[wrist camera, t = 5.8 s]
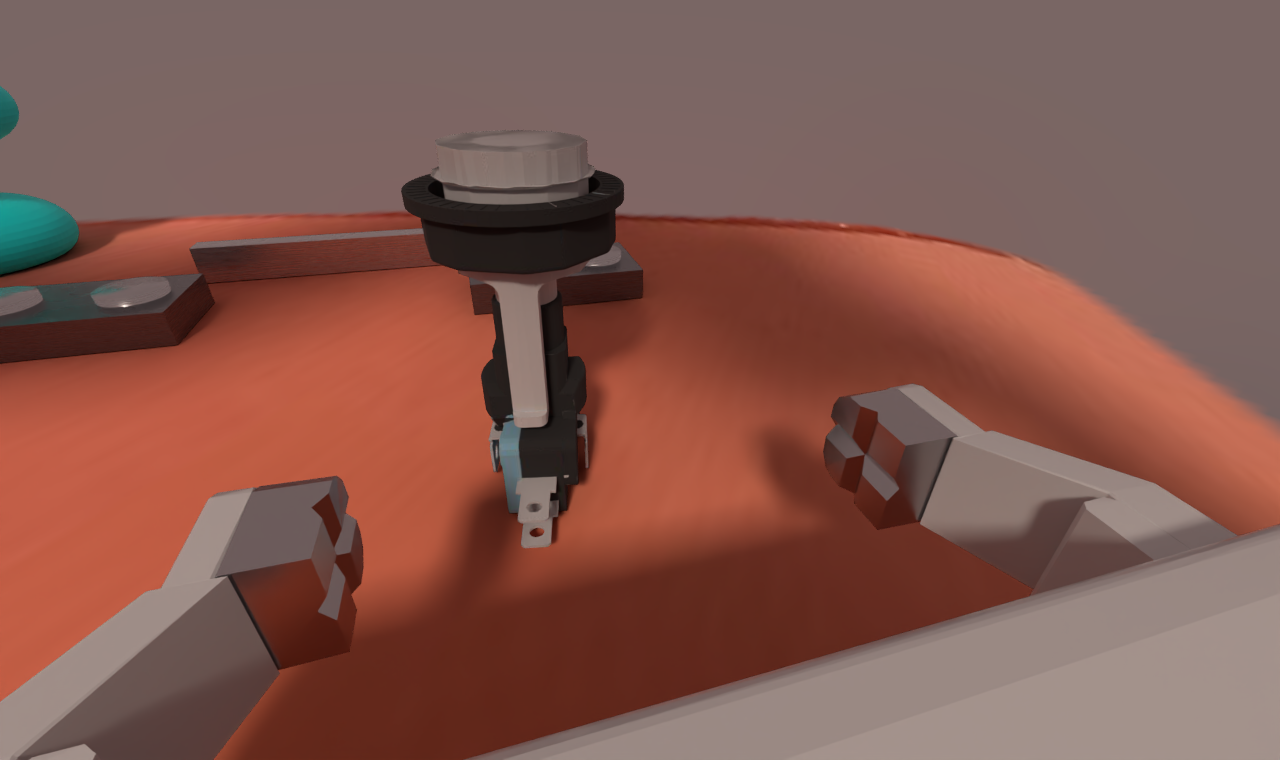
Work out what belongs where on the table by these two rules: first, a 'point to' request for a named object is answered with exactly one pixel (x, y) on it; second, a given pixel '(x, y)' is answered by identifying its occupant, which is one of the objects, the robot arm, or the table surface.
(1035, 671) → the robot arm
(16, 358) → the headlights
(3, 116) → the donuts
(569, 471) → the push button
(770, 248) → the table surface
